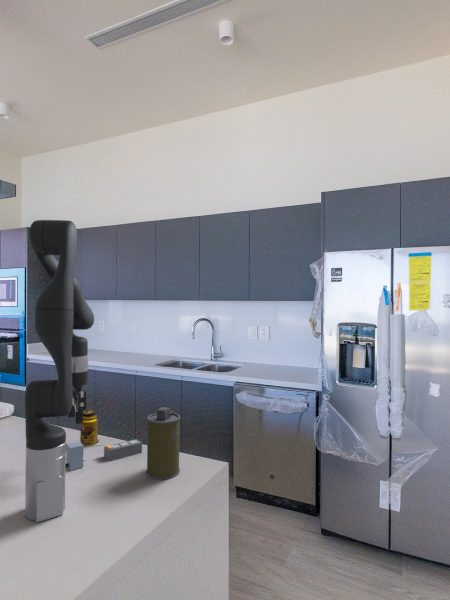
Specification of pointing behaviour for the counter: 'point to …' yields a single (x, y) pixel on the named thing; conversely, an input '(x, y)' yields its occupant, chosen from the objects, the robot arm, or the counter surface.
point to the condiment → (89, 429)
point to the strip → (122, 449)
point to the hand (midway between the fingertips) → (75, 420)
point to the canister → (163, 444)
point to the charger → (74, 455)
